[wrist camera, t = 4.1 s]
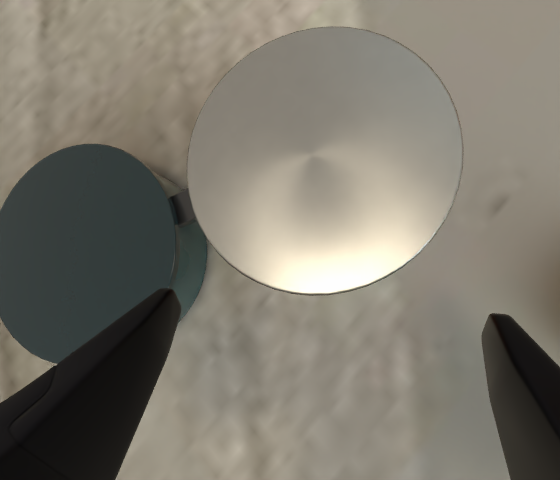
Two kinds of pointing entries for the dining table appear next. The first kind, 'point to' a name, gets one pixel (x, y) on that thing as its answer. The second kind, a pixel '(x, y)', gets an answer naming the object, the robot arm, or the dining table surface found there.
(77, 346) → the pot
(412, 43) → the dining table surface
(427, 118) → the can
